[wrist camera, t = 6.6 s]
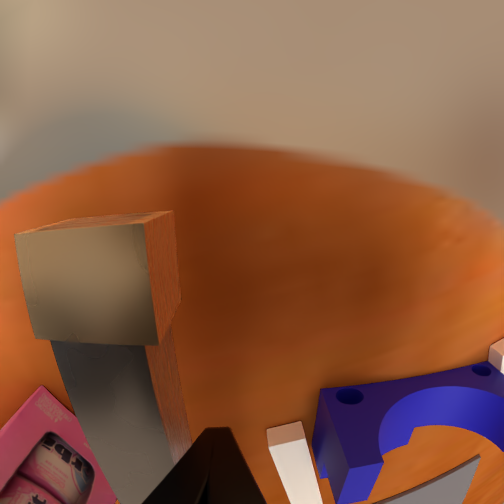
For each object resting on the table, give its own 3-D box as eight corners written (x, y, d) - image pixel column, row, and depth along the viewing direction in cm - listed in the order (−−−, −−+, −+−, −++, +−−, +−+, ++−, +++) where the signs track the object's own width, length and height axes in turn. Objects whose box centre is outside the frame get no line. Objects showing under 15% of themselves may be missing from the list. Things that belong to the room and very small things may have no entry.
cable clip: (311, 443, 17) (330, 519, 11) (319, 387, 16) (349, 468, 10) (466, 411, 17) (508, 460, 11) (486, 359, 16) (539, 405, 10)
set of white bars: (493, 416, 17) (503, 425, 16) (206, 509, 18) (204, 524, 17) (509, 334, 16) (522, 343, 14) (160, 444, 16) (156, 461, 15)
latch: (204, 198, 12) (125, 231, 4) (234, 500, 16) (235, 611, 8) (140, 202, 12) (-15, 243, 4) (195, 499, 16) (184, 608, 8)
